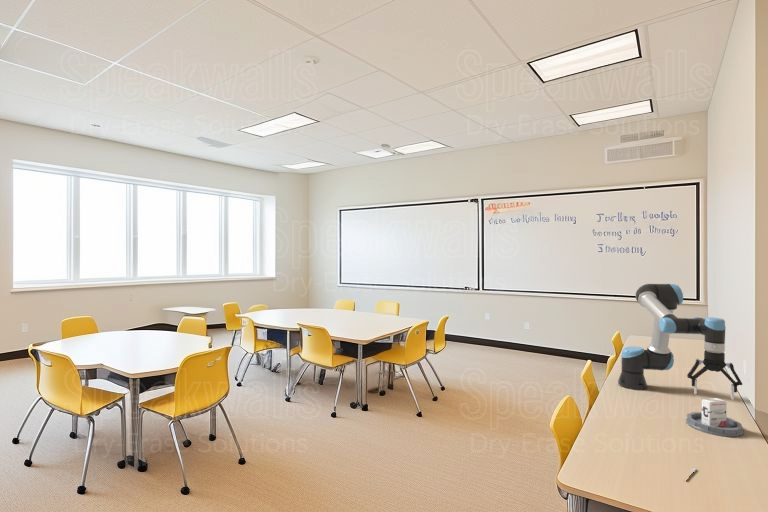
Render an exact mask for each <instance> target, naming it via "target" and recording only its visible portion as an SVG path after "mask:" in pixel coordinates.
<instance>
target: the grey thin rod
mask: <svg viewBox="0 0 768 512" xmlns="http://www.w3.org/2000/svg"><path fill="white" fill-rule="evenodd" d="M696 469H697V470H698V468H696V467H692V468H691V469H690V470H688V472H692V471H693V472H694V471H695V470H696ZM697 470H696V471H697ZM696 471H695V472H696Z"/></svg>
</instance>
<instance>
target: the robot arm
mask: <svg viewBox="0 0 768 512" xmlns="http://www.w3.org/2000/svg"><path fill="white" fill-rule="evenodd" d="M635 299H636V302H637V303H638V304H639V305H640V306H641V307H644V308H645V309H646V310H647V311H648V312H649V313H650V314H651V315H652V316H653V317H654V318H653V319H654V320H653V325H652V326H653V327H652V334H651V341H650V342H651V343H650V344H648V345H647V346H646V347H647V348H646V349H644V348H643V346H642V347H641V346H626V347H624V348H622V349H621V355H620V356H621V357H620V358H621V372H620V375H619V378H618V380H617V383H618V384H617V385H619V384H620V385H622V386H624V387H623V388H625V387H628V388H627V389H629V388H634V389H633V390H636V389H643V390H646V389H647V388H648V383H647V381H646V380H647V379H646V377H645V373H644V372H645V371H644V370H651V371H668V370H670V369H672V367H673V366H674V362H675V359H674V354H673V353H672V351H671V349H670V347H669V342H670V335H671V334H681V335H682V334H684V335H685V334H686V335H687V334H688V335H689V334H690V335H702V336H704V344H703V345H704V346H703V347H704V350H703V352H704V353H703V355H704V357H703V360H702V359H699V358H696V359H695V363H694V364H693V366H692V368H691V369H690V370H689V372H688V373H687V375H686V376H687V378H688V379H689V380H691V386H692V387H694V392H693V393H694V395H697V393H698V380H697V379H698V377H700V376H701V375H703V374H704V373H705V372H707V371H710V372H716V373H718V372H721V373H722V374H723V375H724V376H725V377H726V379H728V381H730V382H731V384H730V399H731V400H732V401H735V393H737V392H738V386H743V381H741V378H740V377H739V375H738V374H737V372H736V370H735V367H734V364H733V362H729V363H726V362H725V361H726V360H725V359H726V358H725V357H726V354H725V352H726V350H725V349H726V345H725V344H726V330H727V329H726V321H725V320H724V319H723V318H720V317H713V316H712V317H708V316H707V317H705V318H703V317H698V316H697V317H692V318H691V317H690V318H688V317H687V318H686V317H682V318H681V317H677V316H676V315H675V314H674V311H675V310H677V309H678V306H680V305H681V304H683V301H684V294H683V291H682V289H681V287H680V286H679V285H678V284H673V283H645V284H643V285H641V286H640V287H639V288H638V289H637V290H636V292H635ZM702 364H703V365H704V366H703V367H702V368H700V370H698V371H697V372H696V370H697V368H699V366H700V365H702ZM725 367H727V369H730V371H731V372H732V375H733V376H734V378H735V379H733V378H732V377H731V375H730V374H729V373H728V372H727V371H726V370H725ZM693 374H694V375H693ZM735 380H736V381H735ZM620 385H619V386H620ZM622 386H621V387H622Z"/></svg>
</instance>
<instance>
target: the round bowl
mask: <svg viewBox="0 0 768 512" xmlns="http://www.w3.org/2000/svg"><path fill="white" fill-rule="evenodd" d="M685 423H686V424H687V425H688V426H689V427H691V428H693V429H695V430H697V431H700V432H702V433H705V434H706V433H707V434H709V435H712V436H713V435H715V436H718V437H727V438H737V437H740V436H741V437H742V436H743V434H744V430H743V428H744V427H743V425H742V423H740V422H739V421H737V420H735V419H733V418H731V417H727V416H726V426H720V427H713V426H709V425H706V424H703V423H702V411H700V412H699V411H697V412H696V411H695V412H694V411H693V412H690V413H687V414H686V419H685Z"/></svg>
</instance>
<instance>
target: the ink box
mask: <svg viewBox="0 0 768 512" xmlns="http://www.w3.org/2000/svg"><path fill="white" fill-rule="evenodd" d="M701 412H702V423H703V424H706V425H709V426H713V427H720V426H726V417H727V401H726V400H723V399H720V398H716V397H714V398H702V399H701Z"/></svg>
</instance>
